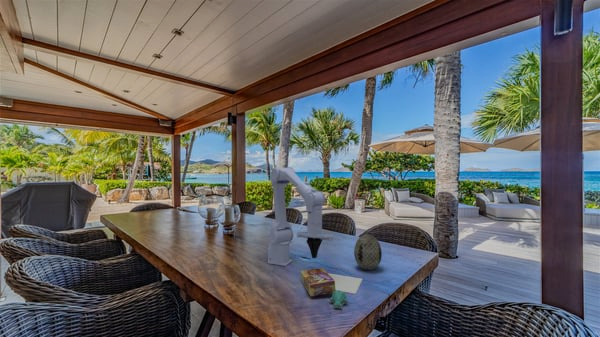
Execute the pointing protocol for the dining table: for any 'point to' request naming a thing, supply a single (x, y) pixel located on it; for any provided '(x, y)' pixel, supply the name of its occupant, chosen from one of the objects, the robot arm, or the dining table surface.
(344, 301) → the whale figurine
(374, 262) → the decorative egg
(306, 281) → the candy box
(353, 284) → the mat
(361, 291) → the dining table surface
